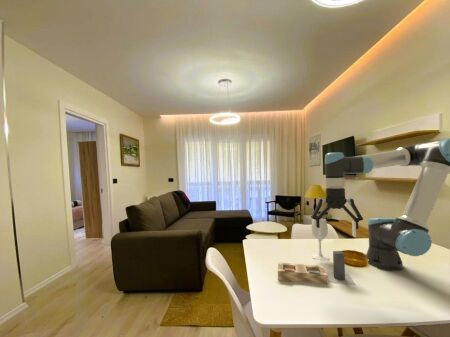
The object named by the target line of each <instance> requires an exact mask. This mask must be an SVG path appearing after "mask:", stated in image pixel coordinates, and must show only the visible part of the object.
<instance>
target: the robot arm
mask: <svg viewBox="0 0 450 337" xmlns="http://www.w3.org/2000/svg"><path fill="white" fill-rule="evenodd" d="M394 166H396V167H397V166H399V167H409V166H417V167H418V166H420V167H421V171H420V173H419V175H418V178H417V179H416V182H415V185H414V187H413V189H412V192H411V194H410V197H409V198H408V200H407V203H406V206H405V207H404V209H403V212H402V214H401V215H400V216H397V217H396V218H394V217H370V218H369V219H368V220H367V228H368V248H367V252H366V254H365V257H366V258H368V259H369V261H368V263H367V264H368V265H370V266H372V267H375V268H377V269H381V270H384V271H385V270H387V271H401V270H402V269H404V265H403V264H404V263H403V260H402V258H401V255H400V253H402V254H404V255H408V256H411V257H419V256H423V255H425V254H426V253H428V252H429V251H430V249H431V247H432V244H433V243H432V242H433V241H432V240H431V239H432V238H431V236H430V234H429V232H430V231H429V230H430V228H429V227H428V226H427V223H428V222H429V220H430V219H429V218H430V216H431V214H432V213H433V210H434V207H435V204H436V202H437V200H438V199H439V196H440V193H441V191H442V190H443V189H442V188H443V186H444V185H445V182H446V179H447V177H448V175H450V137H449V138H446V137H445V138H441V139H434V140H429V141H421V142H419V143H418V142H417V143H414V144H411V145H406V146H402V147H398V148H397V149H394V150H390V151H389V150H388V151H382V152H376V153H369V154H362V155H356V156H345V155H344V152H340V151H339V152H338V151H337V152H327V153H326V154H325V155H324V171H325V172H324V173H325V187H326V188H325V195H326V196H325V198H321V197H319V198H318V203H317V205H316V207H315V209H314V211H313V213H312V215H311V219H312V220H313V219H315V220H316V226H317V228H319V235H320V236H322V225H321V220H320V219H321V218H322V219H323V217H324V216H325V215H326V213H327V212H329V210H331V209H334V210H336V209H338V210H341V209H342V210H344V212H346V213H347V215H348V216H350V218H351V219H352V220H351V226H352V227H351V233H352V234H351V235H352V236H353V237H354V238H357V230H359V222H360V221H363V220H364V217H363V216H362V215H361V212H360V211H359V209H358V207H357V206H356V205H355V201H354V199H353V198H351V197H349V198H346V189H345V188H344V187H345V184H346V183H345V182H346V181H345V175H348V174H352V175H353V174H355V175H356V174H361V175H362V174H369V173H371V171H372V170H375V169H380V168H381V169H382V168H388V167H394ZM324 203H326V205H325V207H324V208H323V209H322V210H321V212H319V211H320V209H321V207H322V205H323V204H324ZM347 203H348V204H349V205H350V207H351V209H352V210H353V211H354V213H355V215H354V213H352V212H351V211H350V209H348V207H347V206H346V204H347ZM366 258H365V259H366Z"/></svg>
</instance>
